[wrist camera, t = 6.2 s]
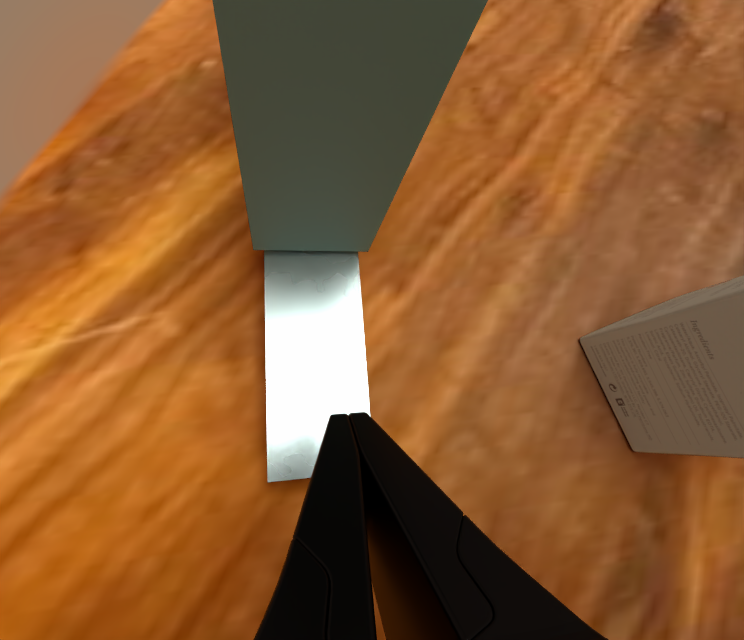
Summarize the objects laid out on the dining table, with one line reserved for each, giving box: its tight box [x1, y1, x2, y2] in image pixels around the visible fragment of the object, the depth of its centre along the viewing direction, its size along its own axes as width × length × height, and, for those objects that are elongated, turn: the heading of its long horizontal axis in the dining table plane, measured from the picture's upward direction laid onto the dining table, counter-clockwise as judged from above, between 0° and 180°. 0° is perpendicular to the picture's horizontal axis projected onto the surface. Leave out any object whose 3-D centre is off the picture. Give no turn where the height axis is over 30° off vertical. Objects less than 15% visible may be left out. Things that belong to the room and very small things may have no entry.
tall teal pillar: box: [213, 0, 488, 252], centre depth 12 cm, size 5×5×12 cm
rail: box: [264, 250, 370, 482], centre depth 13 cm, size 20×5×14 cm, turn 4°
